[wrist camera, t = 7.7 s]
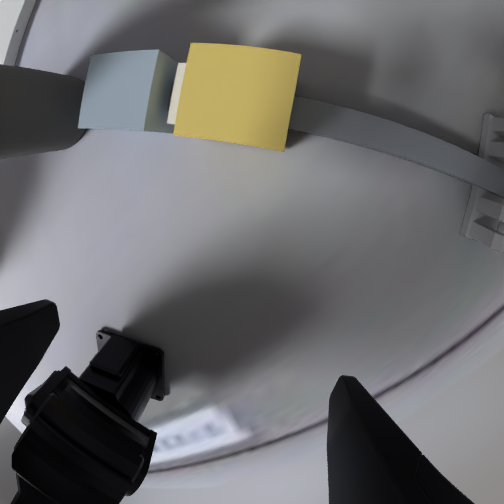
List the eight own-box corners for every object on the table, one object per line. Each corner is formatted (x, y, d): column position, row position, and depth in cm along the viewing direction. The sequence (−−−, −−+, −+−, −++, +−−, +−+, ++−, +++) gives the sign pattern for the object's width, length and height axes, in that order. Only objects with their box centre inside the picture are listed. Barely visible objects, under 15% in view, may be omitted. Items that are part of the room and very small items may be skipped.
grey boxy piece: (510, 130, 14) (540, 131, 11) (486, 242, 17) (513, 259, 14) (483, 114, 14) (513, 112, 11) (459, 233, 17) (486, 250, 14)
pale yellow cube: (297, 78, 15) (301, 54, 11) (284, 151, 17) (283, 151, 12) (215, 67, 15) (190, 42, 11) (202, 138, 17) (172, 135, 12)
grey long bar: (506, 158, 15) (544, 164, 11) (494, 213, 16) (530, 230, 12) (123, 69, 16) (87, 55, 12) (113, 129, 18) (74, 128, 13)
